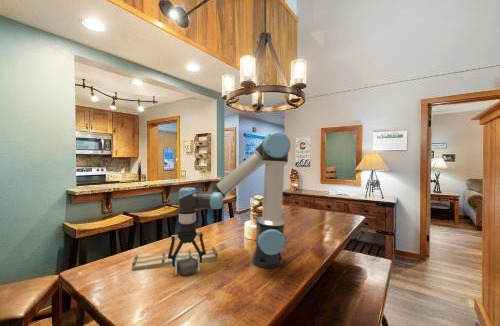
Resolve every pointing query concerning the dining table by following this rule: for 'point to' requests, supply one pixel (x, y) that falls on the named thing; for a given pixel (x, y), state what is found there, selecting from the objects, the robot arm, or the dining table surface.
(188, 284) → the dining table surface
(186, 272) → the stone
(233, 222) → the dining table surface
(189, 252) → the ledge
